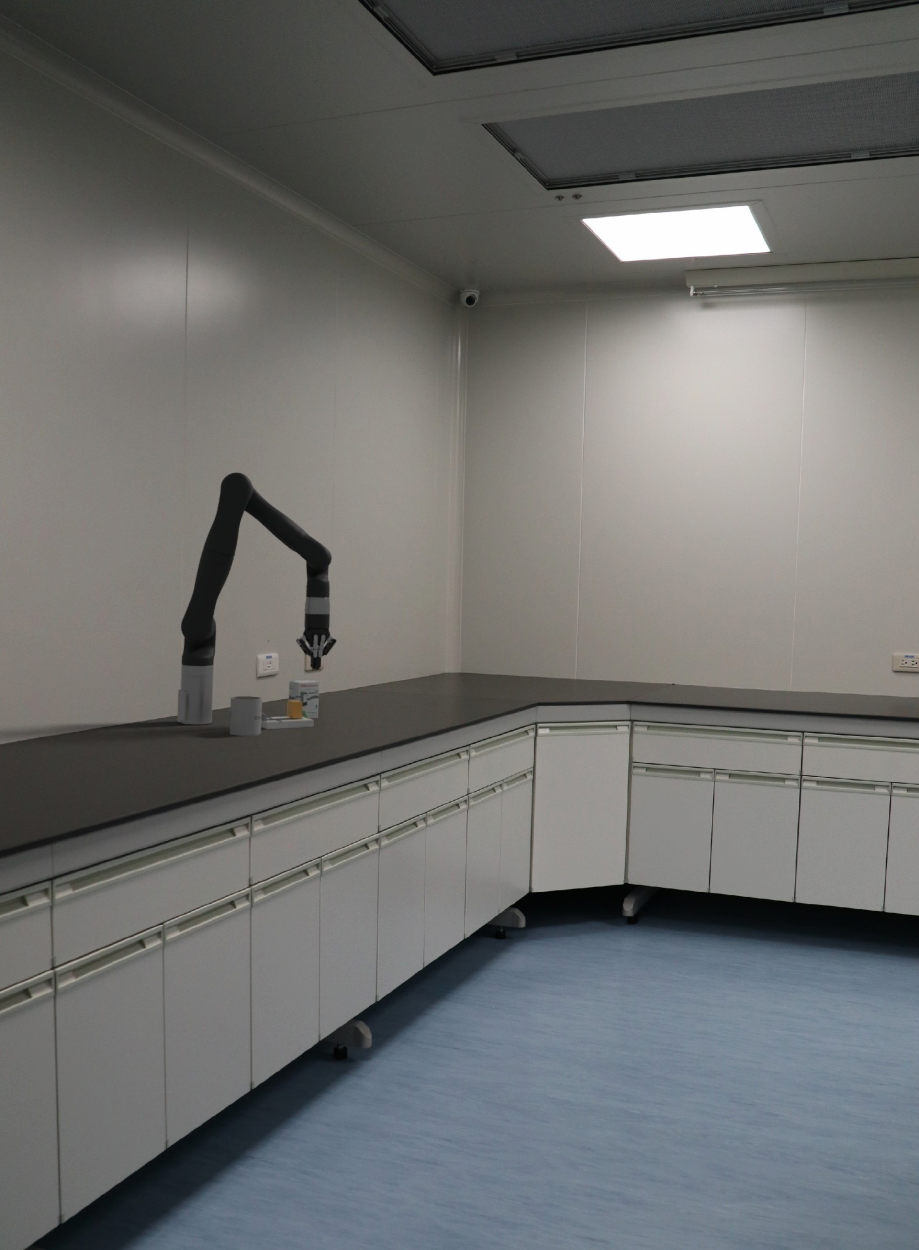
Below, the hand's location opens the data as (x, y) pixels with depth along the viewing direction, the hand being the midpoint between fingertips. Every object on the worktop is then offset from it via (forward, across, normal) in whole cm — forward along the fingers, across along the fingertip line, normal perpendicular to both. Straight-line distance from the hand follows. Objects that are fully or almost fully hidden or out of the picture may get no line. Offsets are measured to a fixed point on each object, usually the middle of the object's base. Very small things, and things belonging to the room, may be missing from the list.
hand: (315, 669), depth 316 cm
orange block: (+14, -7, 0) cm, 16 cm away
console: (+17, -10, 0) cm, 19 cm away
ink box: (+17, +3, +14) cm, 22 cm away
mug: (+17, -25, -9) cm, 31 cm away
